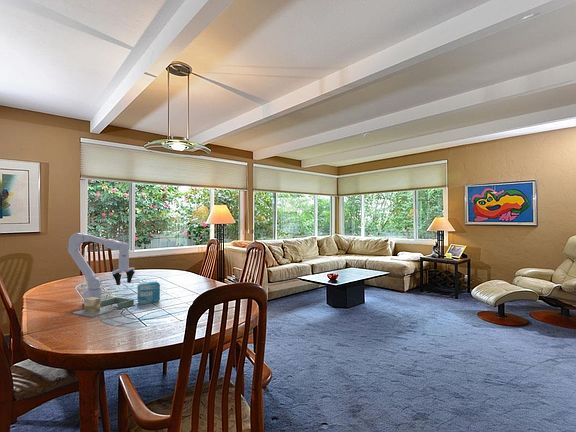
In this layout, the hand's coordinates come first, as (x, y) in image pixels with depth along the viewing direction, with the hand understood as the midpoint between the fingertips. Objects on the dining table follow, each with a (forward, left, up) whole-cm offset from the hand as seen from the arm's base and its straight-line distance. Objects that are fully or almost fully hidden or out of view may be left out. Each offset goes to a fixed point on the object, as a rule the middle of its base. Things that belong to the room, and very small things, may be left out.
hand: (123, 283), depth 196 cm
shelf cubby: (+6, -10, -10) cm, 16 cm away
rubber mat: (+6, -24, -10) cm, 27 cm away
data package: (+18, +3, -11) cm, 21 cm away
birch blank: (+6, -24, -10) cm, 27 cm away
